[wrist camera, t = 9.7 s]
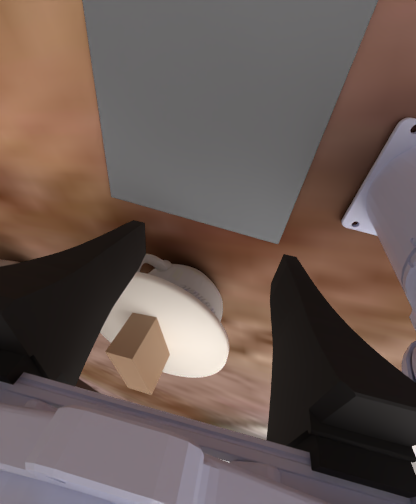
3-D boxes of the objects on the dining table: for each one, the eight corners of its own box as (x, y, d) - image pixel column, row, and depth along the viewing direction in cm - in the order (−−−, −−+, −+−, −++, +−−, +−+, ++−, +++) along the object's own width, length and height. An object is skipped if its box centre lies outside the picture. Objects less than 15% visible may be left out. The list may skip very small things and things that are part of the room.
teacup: (232, 318, 32) (216, 376, 26) (161, 306, 35) (132, 355, 29) (222, 229, 24) (195, 283, 18) (132, 225, 27) (84, 269, 21)
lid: (224, 283, 17) (203, 341, 13) (232, 383, 26) (221, 435, 22) (64, 261, 21) (16, 300, 18) (118, 352, 30) (93, 391, 26)
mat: (386, -25, 12) (389, -28, 11) (278, 241, 23) (278, 244, 22) (78, -56, 14) (73, -59, 14) (113, 195, 25) (111, 196, 25)
